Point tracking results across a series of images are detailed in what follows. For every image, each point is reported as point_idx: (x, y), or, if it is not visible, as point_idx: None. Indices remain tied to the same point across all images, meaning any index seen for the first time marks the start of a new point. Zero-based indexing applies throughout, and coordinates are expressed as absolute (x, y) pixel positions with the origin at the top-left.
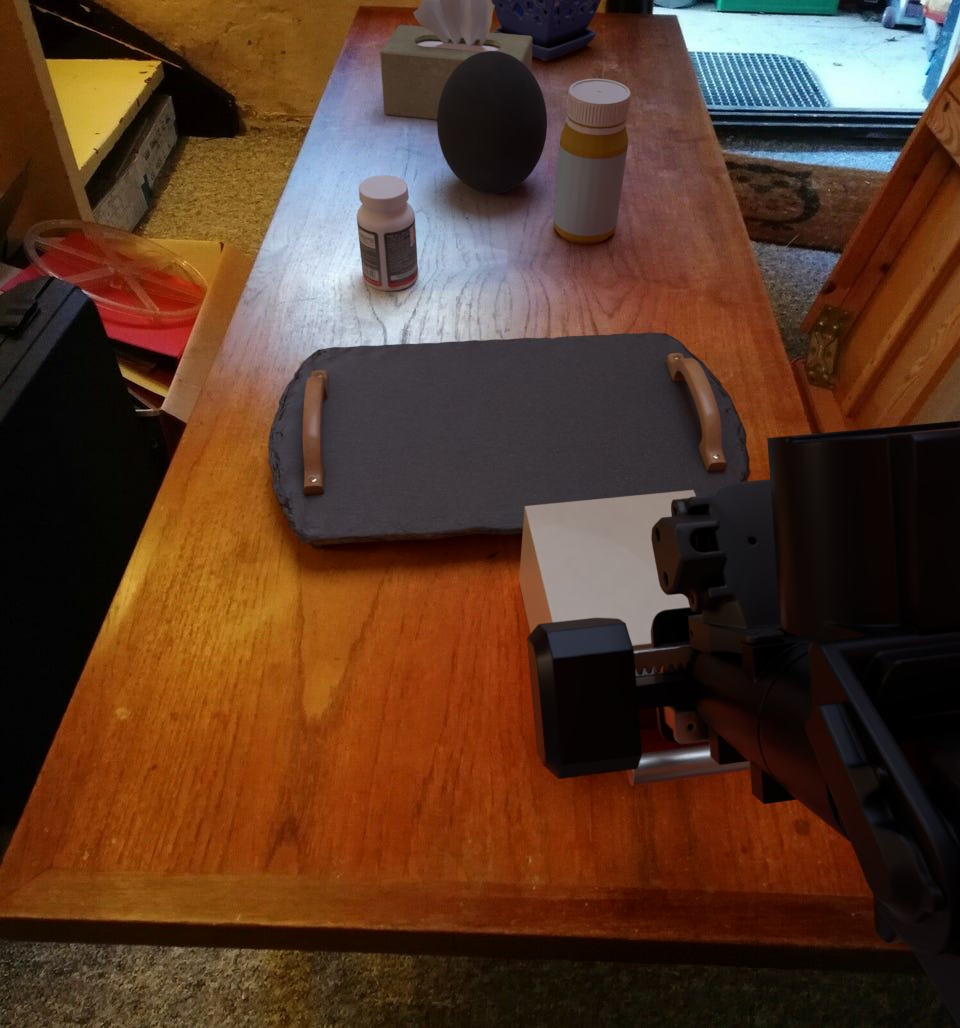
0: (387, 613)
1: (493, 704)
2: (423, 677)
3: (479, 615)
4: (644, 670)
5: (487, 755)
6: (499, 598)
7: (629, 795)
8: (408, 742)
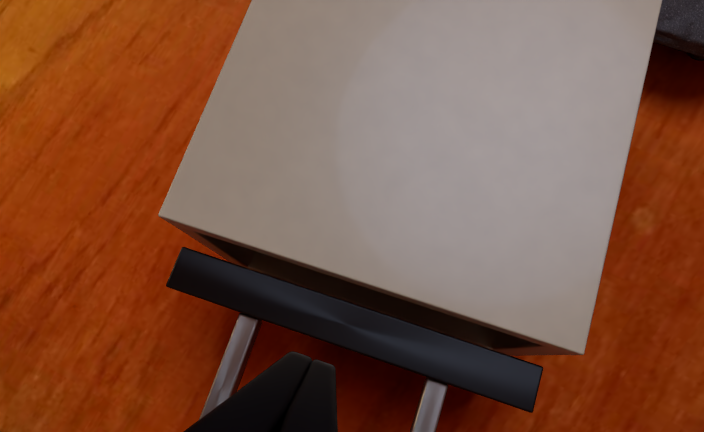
0: (127, 11)
1: None
2: (117, 122)
3: None
4: (311, 316)
5: (128, 271)
6: None
7: None
8: (45, 204)
